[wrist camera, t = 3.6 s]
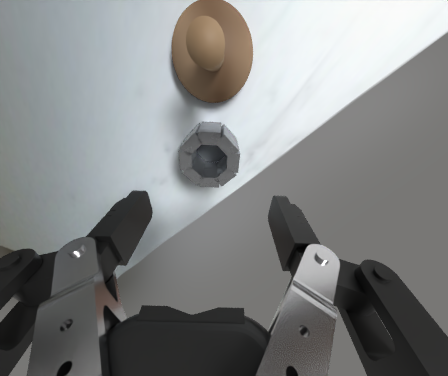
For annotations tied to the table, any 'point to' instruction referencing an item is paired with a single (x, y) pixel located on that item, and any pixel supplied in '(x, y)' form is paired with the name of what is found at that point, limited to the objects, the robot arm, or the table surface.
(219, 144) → the ring
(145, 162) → the table surface
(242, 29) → the wooden peg stand
